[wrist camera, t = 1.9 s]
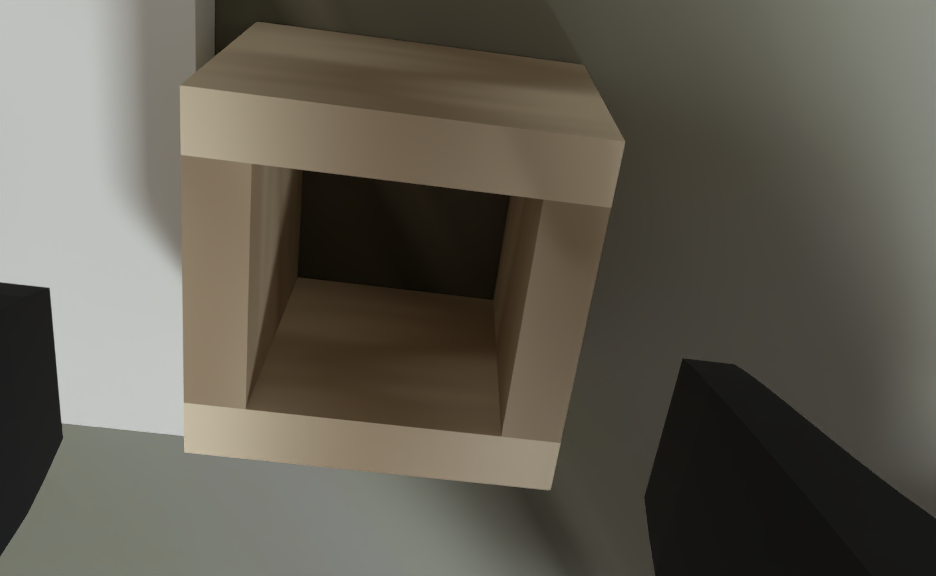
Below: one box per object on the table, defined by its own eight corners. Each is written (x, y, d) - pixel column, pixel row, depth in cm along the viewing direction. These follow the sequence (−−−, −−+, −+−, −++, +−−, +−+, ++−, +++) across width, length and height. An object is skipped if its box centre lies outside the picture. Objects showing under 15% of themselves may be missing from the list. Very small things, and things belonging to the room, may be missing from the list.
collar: (583, 64, 15) (625, 142, 11) (531, 345, 18) (550, 489, 14) (256, 21, 15) (179, 85, 11) (249, 312, 18) (184, 452, 13)
